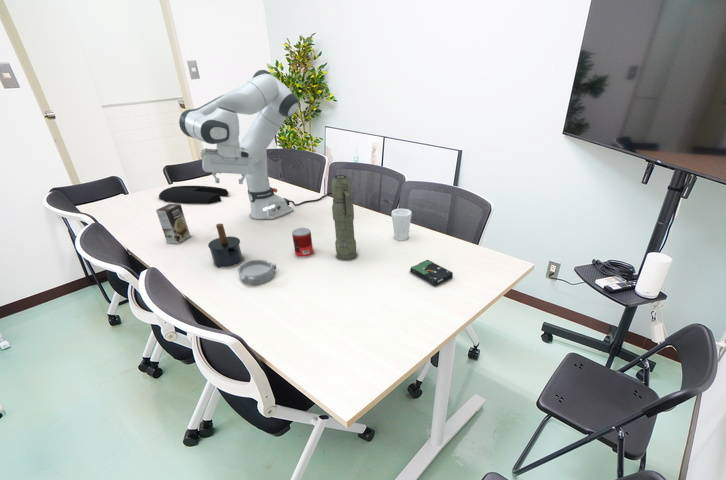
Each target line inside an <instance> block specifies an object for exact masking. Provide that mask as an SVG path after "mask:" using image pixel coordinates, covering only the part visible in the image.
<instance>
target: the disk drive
mask: <svg viewBox="0 0 726 480" xmlns="http://www.w3.org/2000/svg"><path fill="white" fill-rule="evenodd" d="M409 272H410V273H411V274H413V275H415V276H416V277H418V278H420V279H422V280H423V281H425V282H426V283H428V284H430V285H432V286H434V287H435V286H438V285H440V284H443V283H445V282H447V281H449V280H450V279H451V280H452V279H453V277H454V273H453V272H452V271H450V270H448V269H447V268H444V267H443V266H440V265H439V264H437V263H435V262H433V261H432V260H430V259H426V260H423V261H421V262H418V263H417V264H415V265H413V266H411V267H410V268H409Z"/></svg>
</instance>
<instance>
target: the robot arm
mask: <svg viewBox="0 0 726 480" xmlns="http://www.w3.org/2000/svg"><path fill="white" fill-rule="evenodd" d="M299 106H300V100H299V98H298V96H296V94H295V93H293V92H292V91H291V89H290V88H289V87H288V86H287V85H285V84H284V82H282V81H280V80H279V79H278V78H277V77H276V76H274V75H273V74H272V72H269V71H268V70H266V69H260V70H257V71H256V72H255V73H254V74H253V76H252V78H250V79H249V80H247V81H245V82H244V83H243V84H241V85H239V86H238V87H236V88H234V89H233V90H230V91H228V92H226V93H225V94H222V95H219V96H217V97H216V98H214V99H212V100H211V101H208V102H207V103H205V104H203V105H201V106H200V107H197V108H191V109H186V110H184V111H183V112H182V113H181V114H180V116H179V121H178V123H179V124H178V125H179V128H180V131H181V132H182V133H183V134H184V135H186V137H188V138H193V139H196V140H198V141H200V142H203V143H206V144H209V145H216V148H204V149H202V150H201V151H200V158H201V159H202V162H201V163H202V167H201V168H202V171H204V172H205V173H211V175H212V177H213V178H214V181H215V184H220V178H219V177H217V174H231V175H232V174H234V175H241V178H238V184H239V185H243V184H244V180H245V181H246V185H247V195H248V199H249V202H250V217H251V218H252V219H254V220H275V219H277V218H280V217H282V216H284V215H287V214H289V213H291V212H293V208H292V207H291V206H290V205H291V203H292V205H293V206H295V207H297V206H301V205H303V204H306V203H313V202H317V201H321V200H323V198H326V197H328V196H330V195H332V192H328V193H326V194H323V195H322V196H321V197H319V198H317V199H309V200H304V201H301V202H300V203H295V201H293V200H289V199H288V198H286V197H282V196H279V195H278V194H277V193H278V189H277V188H276V187H274V188H273V187H271V185H270V181H269V180H270V179H269V174H268V172H269V171H268V155H267V150H268V147H269V146H270V144H271V143H272V142H273V140H274V139H275V138H276V135H277V134H278V132H279V130H280V129H281V127H282V126H283V124H284V122H285V120H286V118H290V117H292V116H294V114H296V112H297V111H298V110H299ZM238 114H239V115H246V116H247V115H249V116H251V115H254V114H257V115H256V117H255V119H254V121H253V123H252V124H251V126H250V127H249V128H248V130H247V131H246V133H245V134H244V135H243V137H242V139H241V140H240V139H239V138H240V137H239V136H240V120H239V116H238Z"/></svg>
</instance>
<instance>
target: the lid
mask: <svg viewBox="0 0 726 480" xmlns="http://www.w3.org/2000/svg"><path fill="white" fill-rule="evenodd" d="M215 226H216V230H217V234H218V237H217V238H215V239H212V240H211V241H209V243H208V244H207V245H208V248H209V250H210V249H212V250H227V249H231V248H234V247H236V246H237V245H239V246H240V244H241V239H240V238H239V237H237V236H227V234H226V231H225V227H224V224H223V223H216V225H215Z"/></svg>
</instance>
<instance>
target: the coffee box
mask: <svg viewBox="0 0 726 480" xmlns="http://www.w3.org/2000/svg"><path fill="white" fill-rule="evenodd" d="M155 212H156V214H157V218H158V220H159V223H160V226H161V230H162V233H163V235H164V238H165V241H166V243H167V244H174V245H179V244H181V243H182V242H184V241H185V240H188V239H189V238H190V237H191V233H190V230H189V226H188V224H187V221H186V217H185V214H184V211H183V207H182V205H181V203H168V204H166V205H163V206H162V207H160V208H157V209H155Z"/></svg>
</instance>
